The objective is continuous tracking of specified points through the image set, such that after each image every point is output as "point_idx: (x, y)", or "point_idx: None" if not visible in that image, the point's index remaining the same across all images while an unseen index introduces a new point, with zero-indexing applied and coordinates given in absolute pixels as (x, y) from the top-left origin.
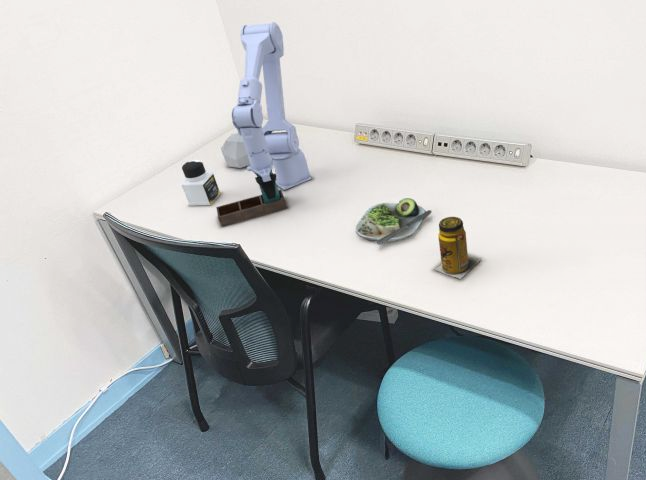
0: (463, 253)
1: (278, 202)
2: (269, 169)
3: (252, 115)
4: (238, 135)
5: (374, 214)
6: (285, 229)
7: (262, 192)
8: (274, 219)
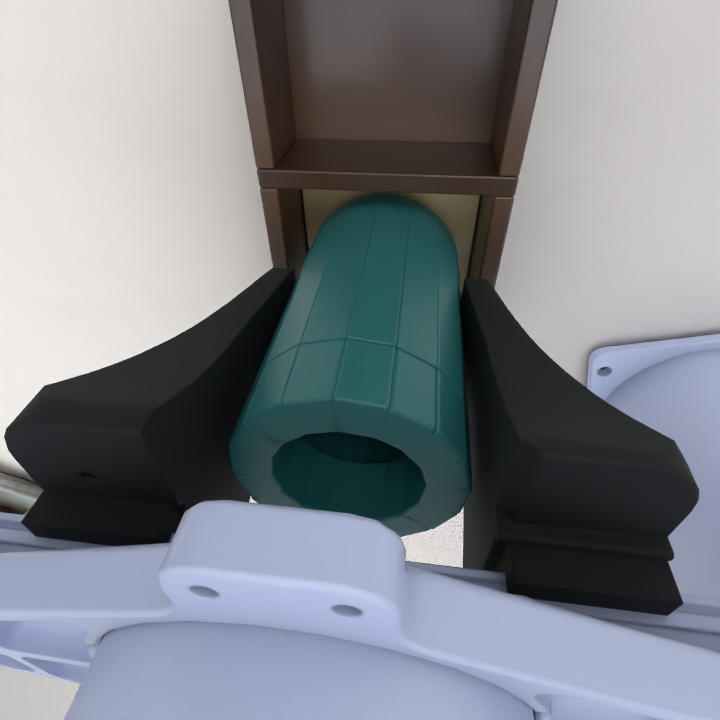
0: None
1: None
2: (54, 676)
3: None
4: None
5: None
6: (24, 237)
7: (323, 270)
8: (180, 196)
